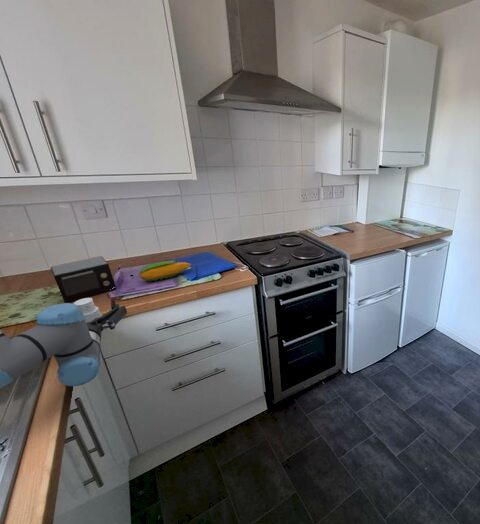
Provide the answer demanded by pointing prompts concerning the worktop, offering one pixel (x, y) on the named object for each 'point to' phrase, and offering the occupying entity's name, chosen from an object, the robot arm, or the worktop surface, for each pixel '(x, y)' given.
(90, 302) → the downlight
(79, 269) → the toaster oven
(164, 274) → the corn
